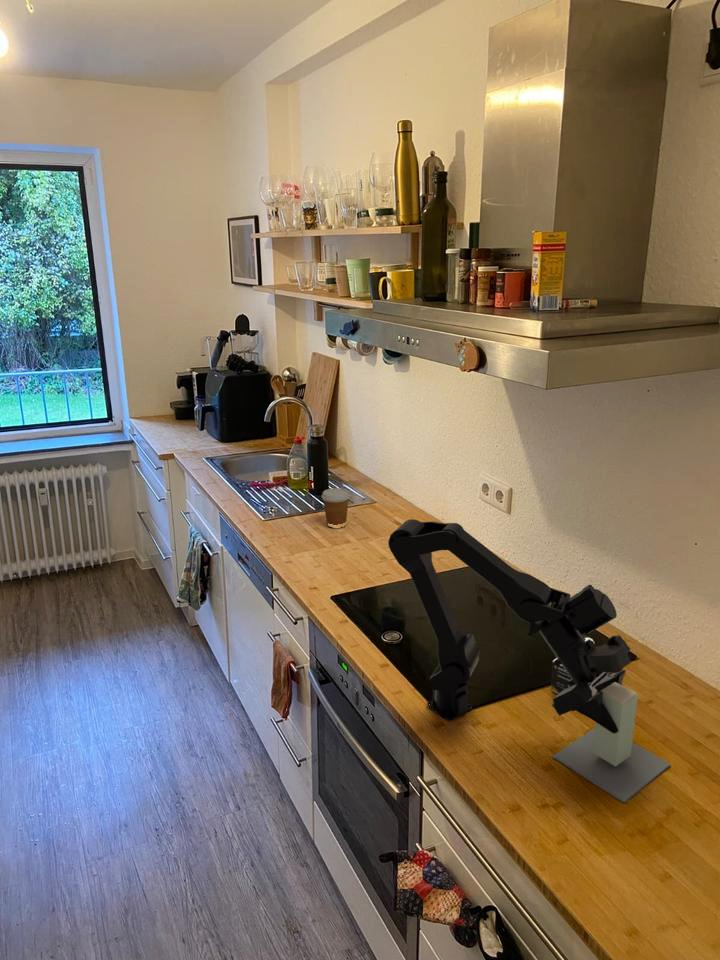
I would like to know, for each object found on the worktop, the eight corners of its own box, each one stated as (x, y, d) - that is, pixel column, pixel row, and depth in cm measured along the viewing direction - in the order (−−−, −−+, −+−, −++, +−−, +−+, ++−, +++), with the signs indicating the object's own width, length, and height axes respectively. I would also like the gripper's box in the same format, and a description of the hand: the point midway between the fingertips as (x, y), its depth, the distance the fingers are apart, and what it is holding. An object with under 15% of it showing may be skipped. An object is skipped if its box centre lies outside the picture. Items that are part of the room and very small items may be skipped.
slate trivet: (553, 757, 123) (553, 755, 123) (599, 726, 131) (600, 724, 131) (624, 803, 112) (624, 801, 112) (670, 765, 120) (670, 763, 120)
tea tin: (592, 752, 121) (599, 690, 118) (607, 742, 124) (614, 681, 120) (615, 766, 118) (623, 702, 114) (630, 755, 121) (638, 692, 117)
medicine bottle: (550, 690, 142) (553, 638, 138) (567, 676, 147) (571, 626, 143) (582, 705, 137) (586, 652, 133) (599, 690, 142) (604, 638, 138)
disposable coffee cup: (316, 527, 234) (315, 493, 231) (334, 518, 242) (333, 486, 238) (338, 532, 229) (337, 498, 225) (356, 524, 236) (355, 490, 233)
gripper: (574, 648, 110) (635, 738, 106) (625, 608, 123) (682, 686, 119) (528, 673, 118) (583, 757, 114) (581, 632, 131) (632, 706, 126)
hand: (622, 725), depth 118 cm, fingers closed on tea tin, 5 cm apart
